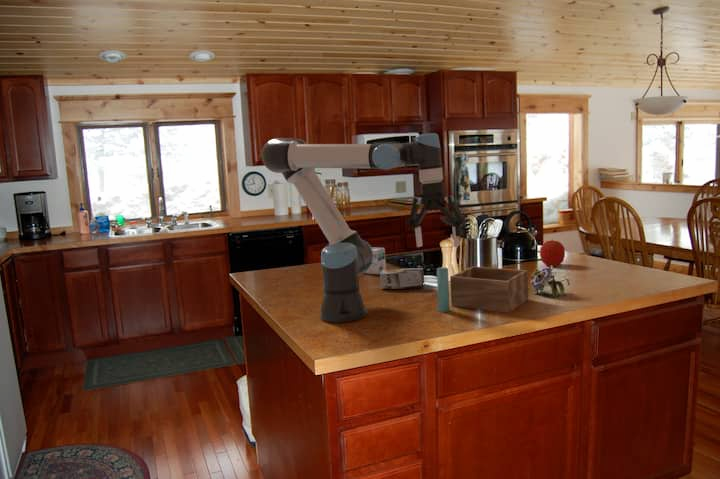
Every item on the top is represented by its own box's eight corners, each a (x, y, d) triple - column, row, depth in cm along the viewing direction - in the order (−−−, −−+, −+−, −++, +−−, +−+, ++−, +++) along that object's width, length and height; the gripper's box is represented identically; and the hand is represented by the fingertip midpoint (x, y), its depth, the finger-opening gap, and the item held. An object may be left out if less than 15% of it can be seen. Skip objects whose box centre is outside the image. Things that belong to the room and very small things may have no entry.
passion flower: (537, 309, 194) (521, 279, 199) (564, 299, 196) (548, 270, 201) (549, 298, 184) (532, 266, 188) (577, 288, 186) (560, 257, 191)
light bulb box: (386, 271, 246) (385, 247, 244) (379, 274, 240) (377, 250, 239) (366, 270, 252) (364, 246, 250) (358, 273, 246) (356, 249, 245)
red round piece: (568, 267, 230) (568, 240, 229) (544, 268, 231) (544, 241, 229) (560, 262, 240) (560, 236, 239) (537, 264, 241) (536, 237, 239)
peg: (446, 312, 179) (444, 270, 177) (436, 311, 181) (434, 269, 179) (451, 309, 182) (449, 267, 179) (441, 308, 184) (440, 267, 182)
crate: (508, 312, 174) (507, 281, 173) (451, 305, 186) (450, 276, 185) (528, 299, 187) (527, 270, 186) (473, 293, 200) (472, 266, 198)
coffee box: (380, 289, 214) (422, 289, 210) (379, 273, 213) (421, 272, 209) (384, 284, 222) (424, 283, 219) (383, 268, 222) (423, 267, 218)
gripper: (472, 177, 175) (478, 243, 178) (404, 183, 190) (410, 244, 193) (462, 180, 169) (468, 248, 172) (392, 185, 184) (399, 248, 187)
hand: (437, 246), depth 182 cm, fingers open, 13 cm apart
